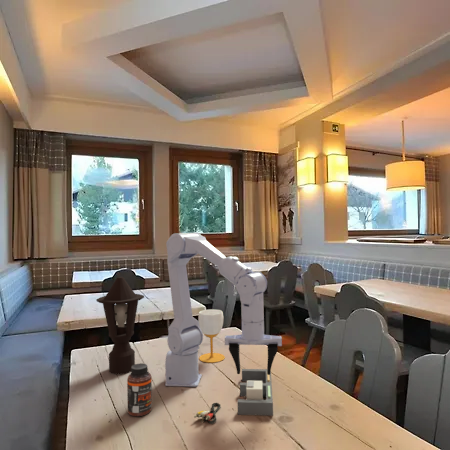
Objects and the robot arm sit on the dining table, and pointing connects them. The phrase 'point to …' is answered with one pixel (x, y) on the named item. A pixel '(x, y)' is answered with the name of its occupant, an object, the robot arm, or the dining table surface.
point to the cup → (211, 332)
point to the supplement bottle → (139, 390)
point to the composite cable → (208, 414)
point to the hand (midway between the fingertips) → (253, 372)
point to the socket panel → (256, 405)
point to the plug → (254, 390)
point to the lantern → (120, 324)
